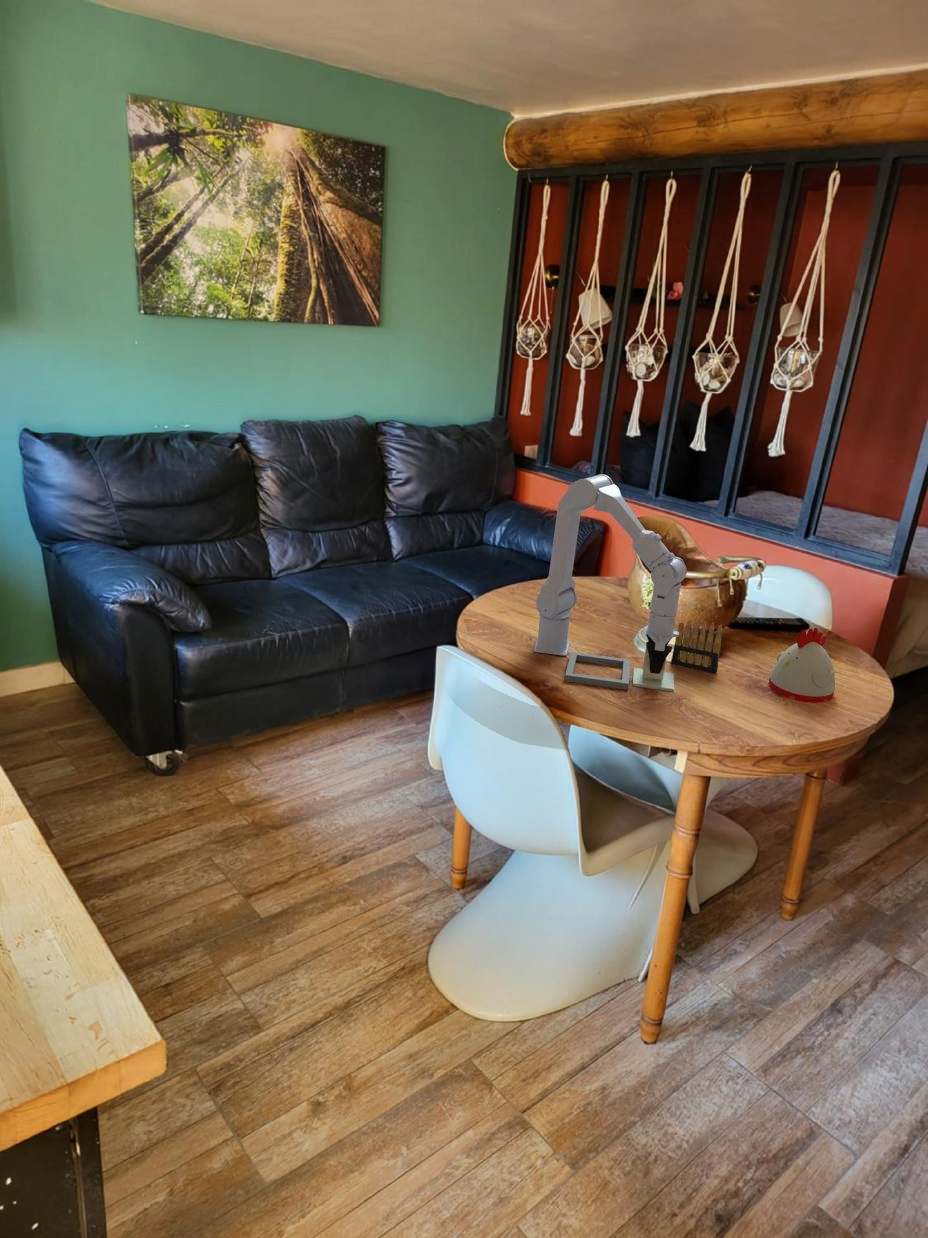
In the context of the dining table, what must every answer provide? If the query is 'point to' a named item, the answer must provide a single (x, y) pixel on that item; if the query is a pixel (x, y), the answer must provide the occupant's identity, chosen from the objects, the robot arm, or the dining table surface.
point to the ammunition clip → (697, 648)
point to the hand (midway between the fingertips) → (654, 668)
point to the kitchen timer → (804, 670)
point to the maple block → (647, 668)
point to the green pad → (653, 681)
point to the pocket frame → (593, 679)
